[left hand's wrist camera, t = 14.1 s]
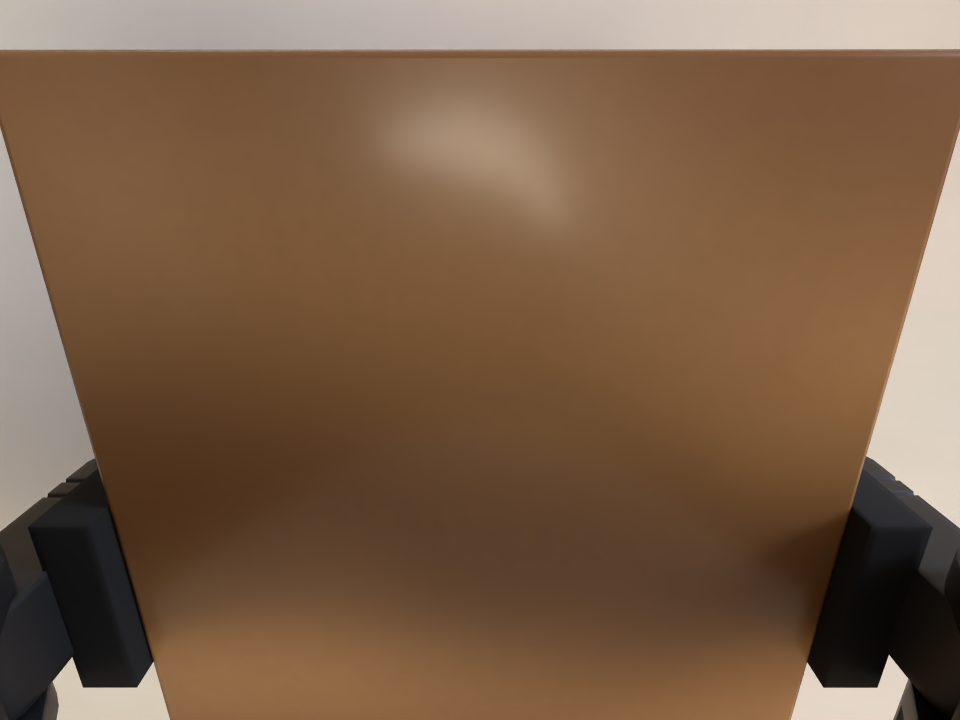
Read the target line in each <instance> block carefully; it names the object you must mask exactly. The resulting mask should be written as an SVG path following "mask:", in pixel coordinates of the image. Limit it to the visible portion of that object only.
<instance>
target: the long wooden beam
mask: <svg viewBox="0 0 960 720" xmlns="http://www.w3.org/2000/svg"><path fill="white" fill-rule="evenodd" d="M0 127H1V131H2V134H3V138H4V141H5V145H6V148H7V152H8V155H9V159H10V162H11V166H12V169H13V173H14V176H15V180H16V183H17V186H18V190H19V193H20V197H21V200H22V204H23V207H24V211H25V214H26V218H27V221H28V225H29V228H30V232H31V235H32V239H33V242H34V246H35V249H36V253H37V256H38V260H39V263H40V267H41V270H42V274H43V277H44V281H45V284H46V288H47V291H48V295H49V298H50V302H51V305H52V309H53V312H54V316H55V319H56V323H57V326H58V330H59V333H60V337H61V340H62V344H63V347H64V350H65V354H66V357H67V361H68V364H69V368H70V371H71V375H72V378H73V382H74V385H75V389H76V392H77V396H78V399H79V403H80V406H81V410H82V413H83V417H84V420H85V424H86V427H87V431H88V434H89V438H90V441H91V445H92V448H93V452H94V455H95V459H96V462H97V466H98V469H99V473H100V476H101V480H102V483H103V487H104V490H105V494H106V497H107V501H108V504H109V507H110V511H111V514H112V518H113V521H114V525H115V528H116V532H117V535H118V539H119V542H120V546H121V549H122V553H123V556H124V560H125V563H126V567H127V570H128V574H129V577H130V581H131V584H132V588H133V591H134V595H135V598H136V602H137V605H138V609H139V612H140V616H141V619H142V623H143V626H144V630H145V633H146V637H147V640H148V644H149V647H150V651H151V654H152V658H153V661H154V665H155V668H156V671H157V675H158V678H159V682H160V685H161V689H162V692H163V696H164V699H165V703H166V706H167V710H168V713H169V717H170V720H791V716H792V713H793V709H794V706H795V702H796V699H797V695H798V692H799V688H800V685H801V681H802V678H803V674H804V671H805V667H806V664H807V660H808V657H809V653H810V650H811V646H812V643H813V639H814V636H815V632H816V629H817V626H818V622H819V619H820V615H821V612H822V608H823V605H824V601H825V598H826V594H827V591H828V587H829V584H830V580H831V577H832V573H833V570H834V566H835V563H836V559H837V556H838V552H839V549H840V545H841V542H842V538H843V535H844V531H845V528H846V524H847V521H848V517H849V514H850V510H851V507H852V503H853V500H854V496H855V493H856V489H857V486H858V482H859V479H860V475H861V472H862V468H863V465H864V461H865V458H866V454H867V451H868V447H869V444H870V440H871V437H872V433H873V430H874V426H875V423H876V419H877V416H878V412H879V409H880V405H881V402H882V398H883V395H884V391H885V388H886V384H887V381H888V377H889V374H890V370H891V367H892V363H893V360H894V356H895V353H896V349H897V346H898V342H899V339H900V335H901V332H902V328H903V325H904V321H905V318H906V314H907V311H908V307H909V304H910V300H911V297H912V293H913V290H914V286H915V283H916V279H917V276H918V272H919V269H920V265H921V262H922V258H923V255H924V251H925V248H926V244H927V241H928V237H929V234H930V230H931V227H932V223H933V220H934V216H935V213H936V209H937V206H938V202H939V199H940V195H941V192H942V188H943V185H944V181H945V178H946V174H947V171H948V167H949V164H950V160H951V157H952V153H953V150H954V146H955V143H956V140H957V136H958V133H959V129H960V49H843V50H0Z"/></svg>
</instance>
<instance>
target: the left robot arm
mask: <svg viewBox="0 0 960 720" xmlns="http://www.w3.org/2000/svg"><path fill="white" fill-rule="evenodd" d="M889 655H890V656H891V658H892V659H893V660H894V661H895V662H896V664H897V665H898V666H899V667H900V669H901V670H902V671H903V672H904V674H905V675H906V676H907V677H908V682H907V684H906V687H905V690H904V693H903V695H902V698H901V701H900V703H899V706H898V709H897V711H896V714H895V717H894V719H893V720H960V528H959V527H957V526H956V525H955V524H954V523H952V522H951V521H950V520H948V519H947V518H946V517H945V516H943V515H942V514H941V513H940V512H938V511H937V510H936V509H935V508H933V507H932V506H931V505H930V504H928V503H927V502H926V501H925V500H923V499H922V498H921V497H919V496H918V495H914V494H913V491H912V490H911V489H909V488H908V487H907V486H906V485H904V484H903V483H902V482H901V481H896V480H895V477H894V476H893V475H892V474H890V473H889V472H888V471H887V470H885V469H884V468H883V467H882V466H880V465H879V464H878V463H877V462H875V461H874V460H872V459H870V458H868V457H866V458H865V461H864V465H863V468H862V472H861V475H860V479H859V482H858V486H857V489H856V493H855V496H854V500H853V503H852V507H851V510H850V514H849V517H848V521H847V524H846V528H845V531H844V535H843V538H842V542H841V545H840V549H839V552H838V556H837V559H836V563H835V566H834V570H833V573H832V577H831V580H830V584H829V587H828V591H827V594H826V598H825V601H824V605H823V608H822V612H821V615H820V619H819V622H818V626H817V629H816V632H815V636H814V639H813V643H812V646H811V650H810V653H809V657H808V660H807V662H808V664H809V665H810V667H811V669H812V670H813V672H814V673H815V675H816V676H817V678H818V680H819V681H820V683H821V684H822V686H823V687H824V688H877V687H878V684H879V681H880V678H881V676H882V673H883V670H884V667H885V664H886V661H887V658H888V656H889ZM72 657H73V660H74V663H75V665H76V668H77V671H78V674H79V677H80V680H81V683H82V686H83V687H138V685H139V683H140V682H141V680H142V679H143V677H144V676H145V674H146V672H147V671H148V669H149V668H150V666H151V665H152V663H153V658H152V654H151V651H150V647H149V644H148V640H147V637H146V633H145V630H144V626H143V623H142V619H141V616H140V612H139V609H138V605H137V602H136V598H135V595H134V591H133V588H132V584H131V581H130V577H129V574H128V570H127V567H126V563H125V560H124V556H123V553H122V549H121V546H120V542H119V539H118V535H117V532H116V528H115V525H114V521H113V518H112V514H111V511H110V507H109V504H108V501H107V497H106V494H105V490H104V487H103V483H102V480H101V476H100V473H99V469H98V466H97V462H96V459H93V460H91V461H89V462H87V463H86V464H85V465H83V466H82V467H81V468H80V469H78V470H77V471H76V472H75V473H73V474H72V475H71V476H70V477H68V478H67V479H66V483H61V484H60V485H58V486H57V487H56V488H55V489H53V490H52V491H51V492H50V493H48V497H47V498H42V499H41V500H40V501H38V502H37V503H36V504H35V505H33V506H32V507H31V508H30V509H28V510H27V511H26V512H24V513H23V514H22V515H21V516H19V517H18V518H17V519H16V520H14V521H13V522H12V523H11V524H9V525H8V526H7V527H6V528H4V529H3V530H2V531H1V532H0V720H56V719H57V713H58V707H59V705H58V698H57V693H56V690H55V687H54V684H53V682H52V681H53V680H54V679H55V677H56V676H57V675H58V674H59V673H60V671H61V670H62V669H63V668H64V666H65V665H66V664H67V663H68V661H69V660H70V659H71V658H72Z"/></svg>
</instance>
